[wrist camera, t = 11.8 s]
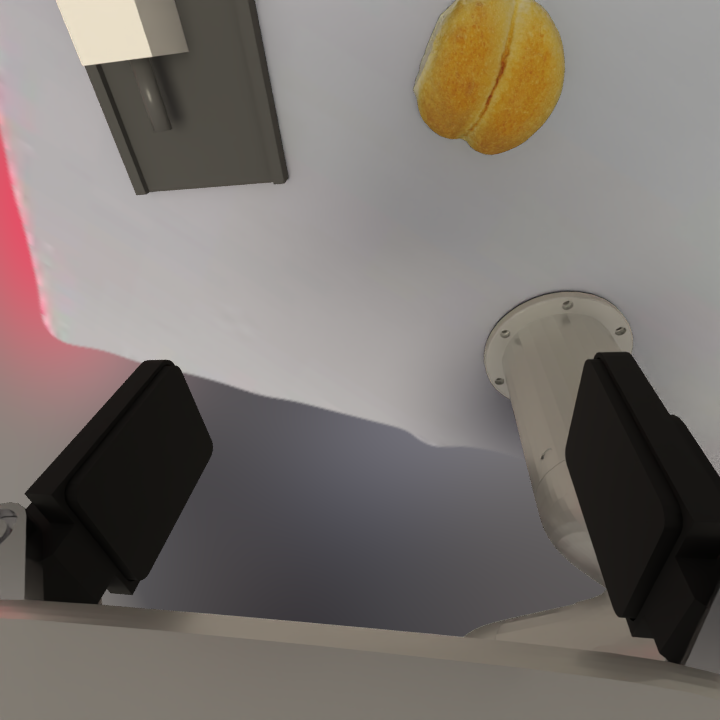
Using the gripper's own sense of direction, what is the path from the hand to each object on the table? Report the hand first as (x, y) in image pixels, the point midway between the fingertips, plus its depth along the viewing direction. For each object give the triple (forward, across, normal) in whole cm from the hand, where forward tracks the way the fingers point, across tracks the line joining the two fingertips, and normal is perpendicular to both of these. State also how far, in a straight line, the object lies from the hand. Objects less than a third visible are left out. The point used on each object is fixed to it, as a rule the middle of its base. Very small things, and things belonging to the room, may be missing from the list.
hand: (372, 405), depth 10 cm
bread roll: (+27, -5, -5) cm, 28 cm away
